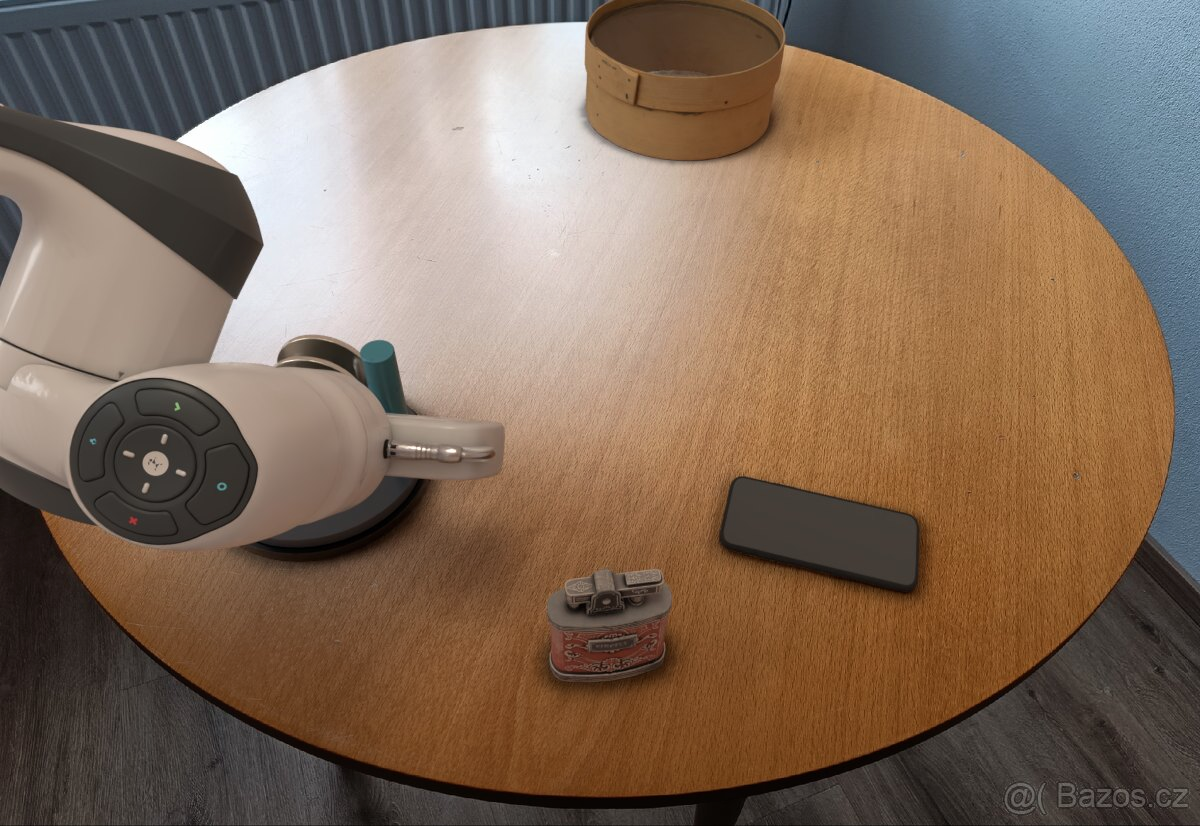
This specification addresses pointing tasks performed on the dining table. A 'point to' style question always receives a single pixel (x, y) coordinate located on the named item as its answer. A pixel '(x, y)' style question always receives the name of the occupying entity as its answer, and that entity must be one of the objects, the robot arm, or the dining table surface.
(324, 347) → the dish rack
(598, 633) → the lighter
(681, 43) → the steamer basket
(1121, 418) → the dining table surface
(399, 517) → the rack base
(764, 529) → the smartphone
